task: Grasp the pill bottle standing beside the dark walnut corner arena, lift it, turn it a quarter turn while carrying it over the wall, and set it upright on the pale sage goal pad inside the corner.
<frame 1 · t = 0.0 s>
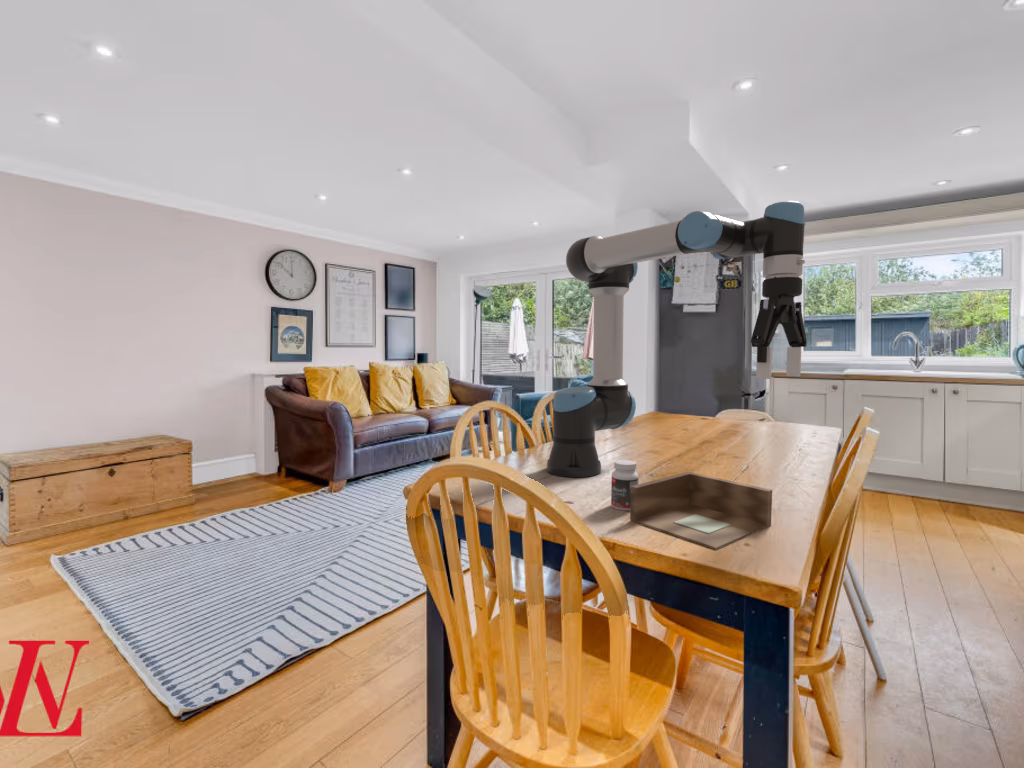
hand: (778, 377, 109), 28 cm above the table, fingers open, 13 cm apart
pill bottle: (624, 508, 110), on the table
arena: (689, 505, 110), on the table
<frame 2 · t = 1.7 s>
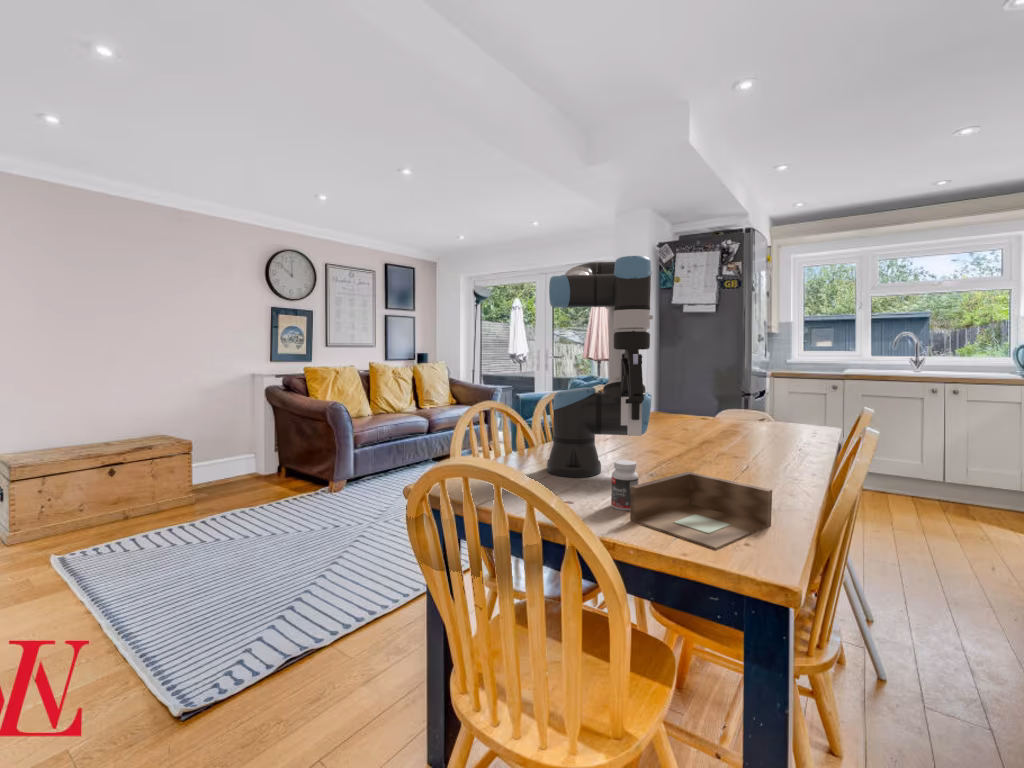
hand: (630, 430, 108), 17 cm above the table, fingers open, 13 cm apart
nothing on the table moved.
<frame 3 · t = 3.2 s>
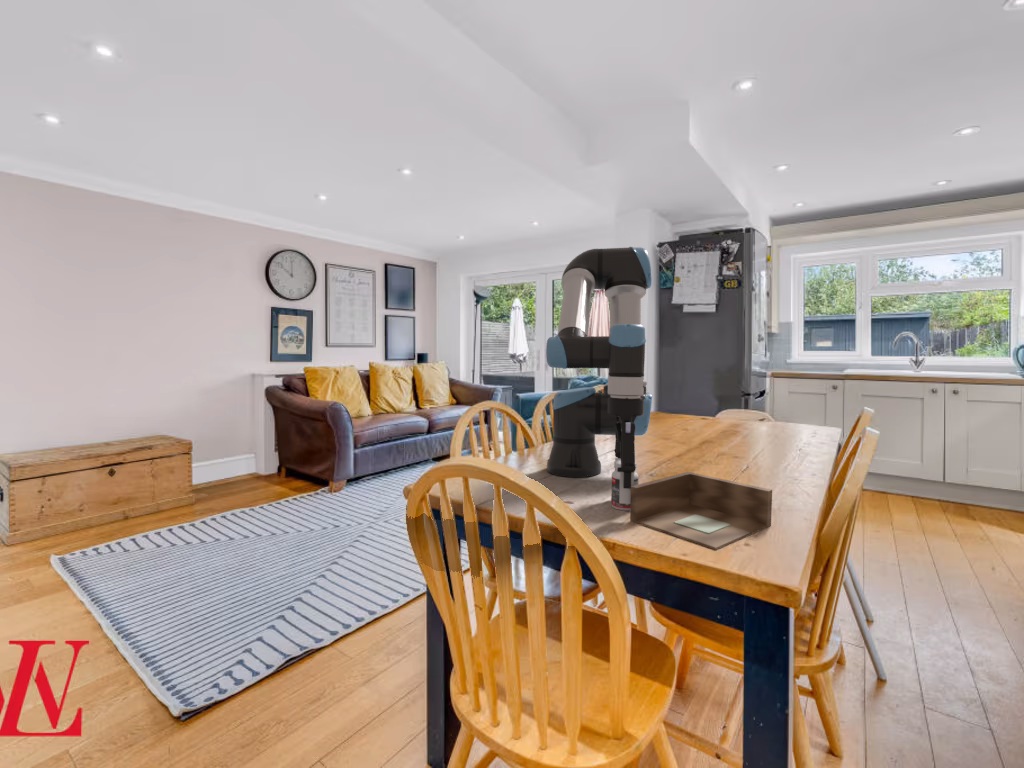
hand: (623, 494, 109), 3 cm above the table, fingers open, 13 cm apart
nothing on the table moved.
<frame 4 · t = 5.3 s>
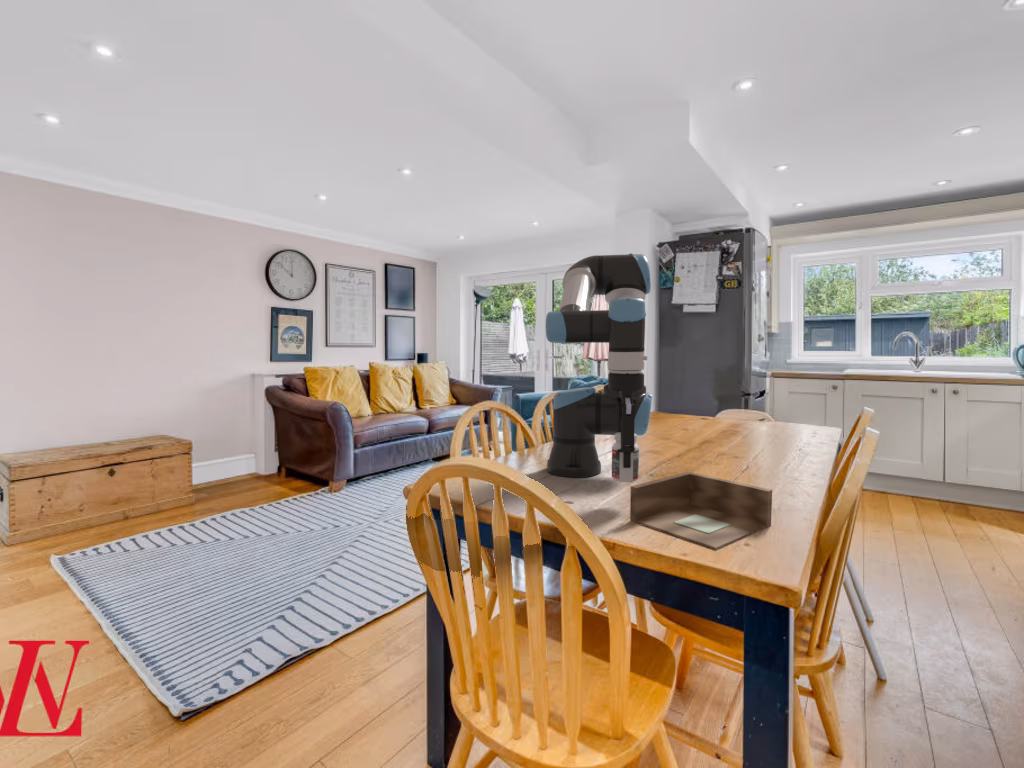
hand: (624, 477, 110), 6 cm above the table, fingers closed on pill bottle, 6 cm apart
pill bottle: (624, 479, 110), point 6 cm above the table, touching gripper
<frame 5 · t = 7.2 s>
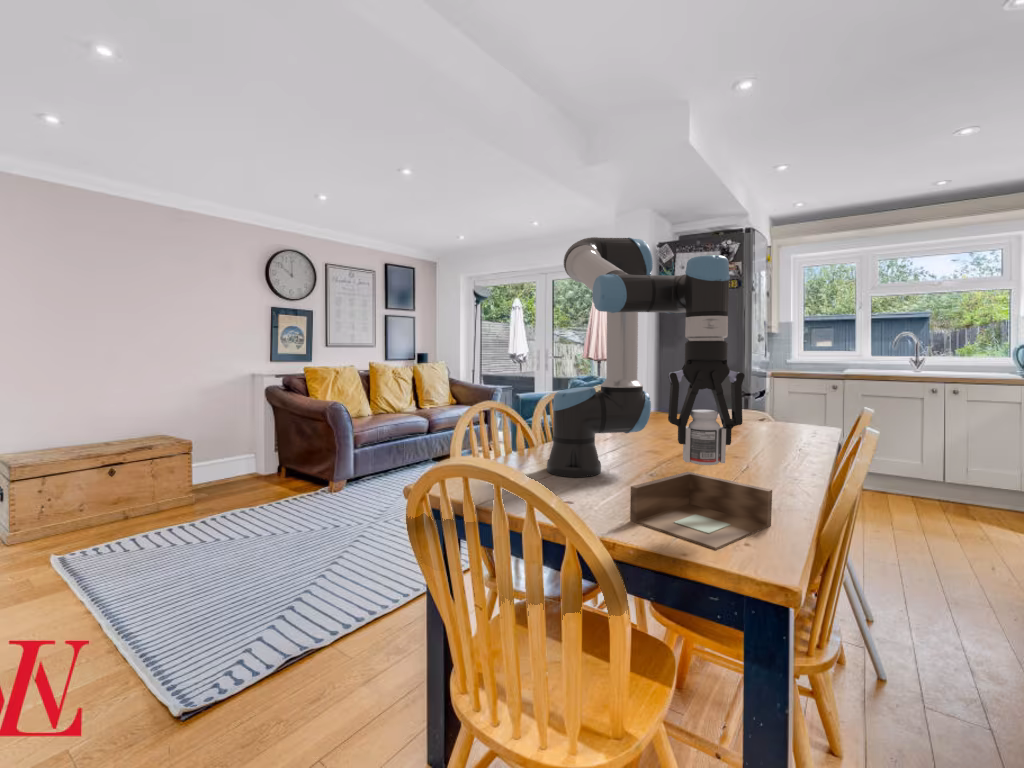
hand: (703, 461, 97), 13 cm above the table, fingers closed on pill bottle, 6 cm apart
pill bottle: (703, 463, 97), point 12 cm above the table, touching gripper
when the fingers open (2 cm above the table, at t = 9.0 s): pill bottle stays where it is, resting on arena.
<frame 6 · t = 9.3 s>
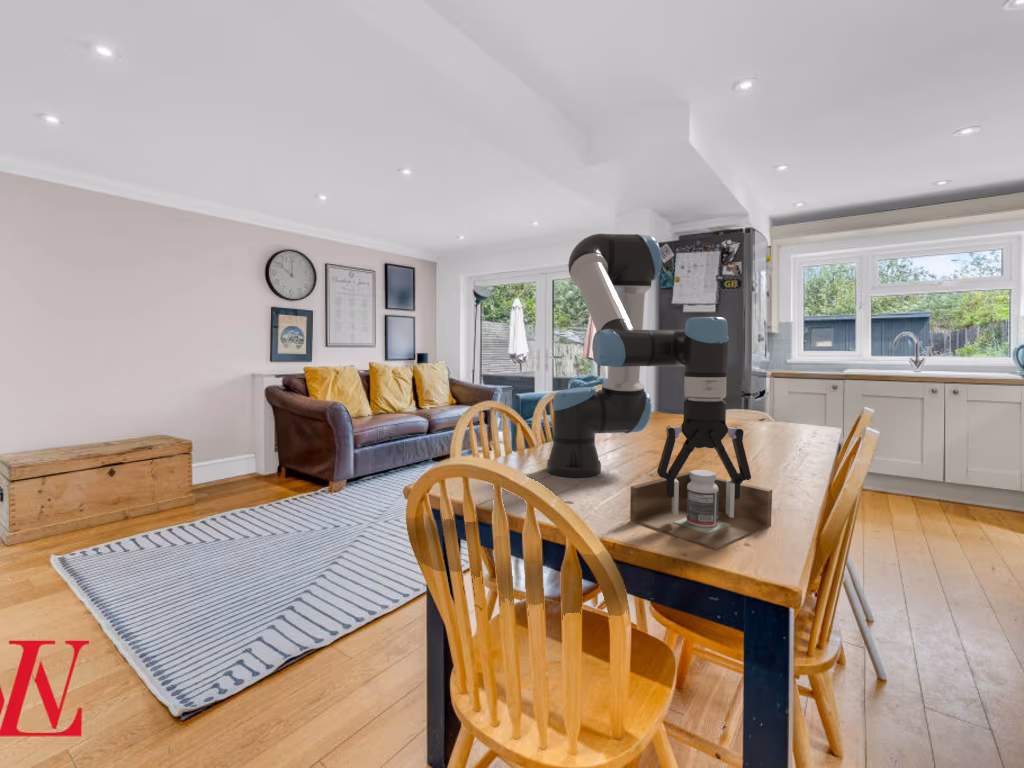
hand: (702, 514, 97), 2 cm above the table, fingers open, 9 cm apart
pill bottle: (701, 524, 98), resting on arena
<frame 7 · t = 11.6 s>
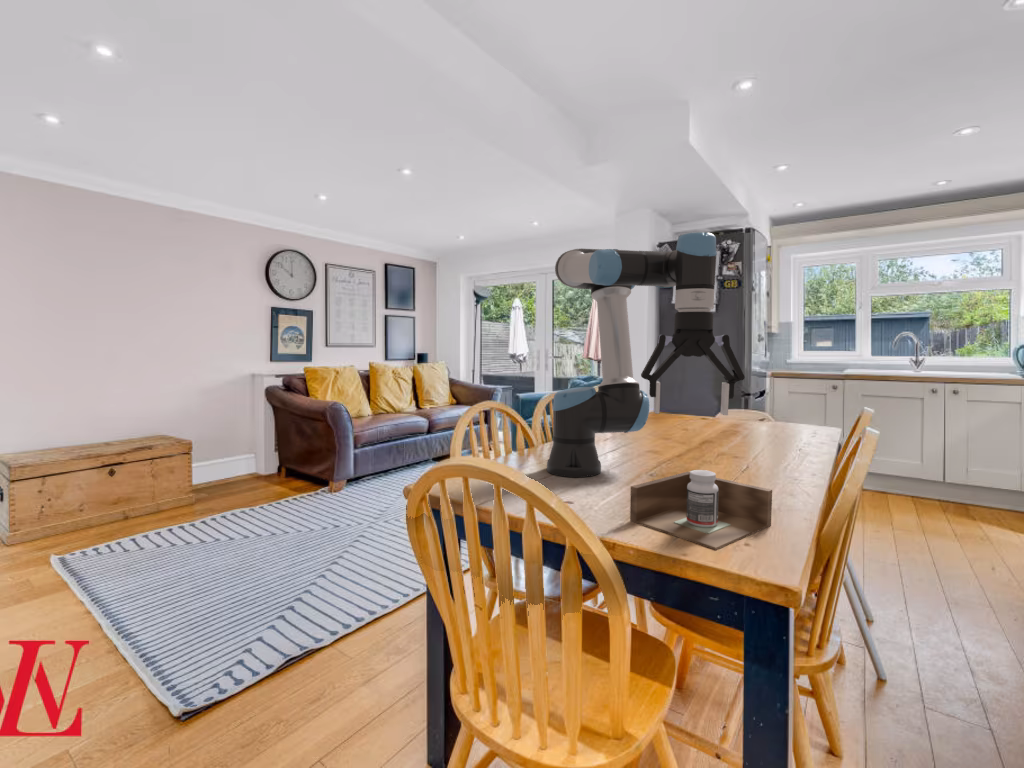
hand: (690, 413, 106), 21 cm above the table, fingers open, 13 cm apart
nothing on the table moved.
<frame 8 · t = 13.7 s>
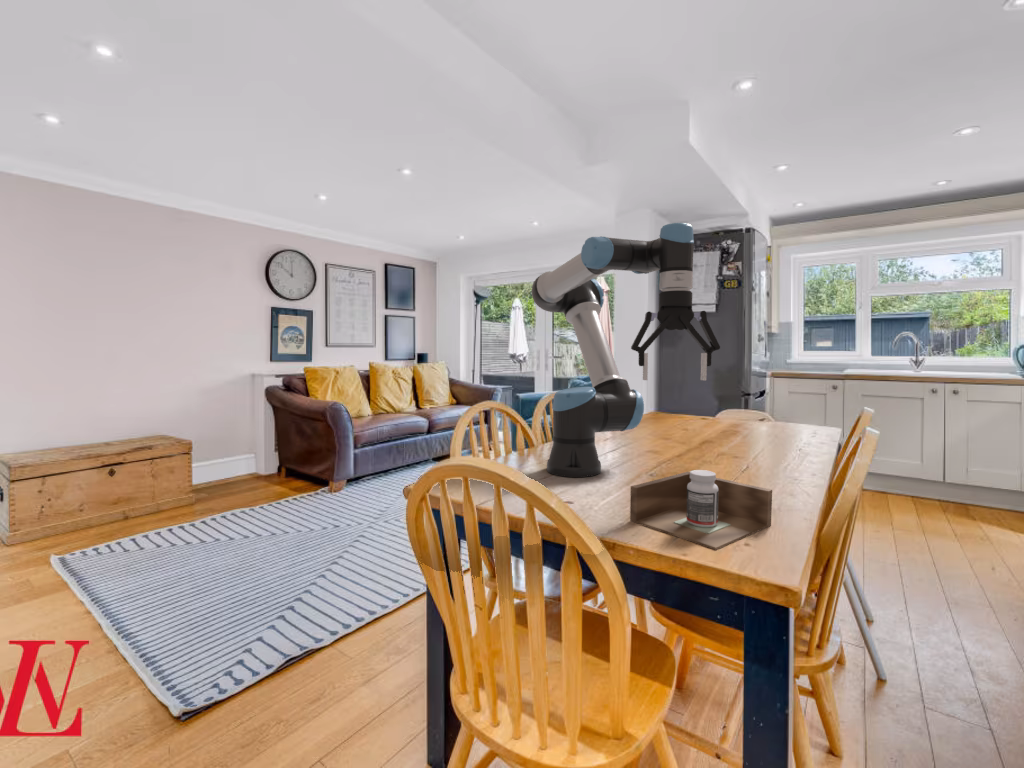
hand: (674, 380, 121), 27 cm above the table, fingers open, 13 cm apart
nothing on the table moved.
at the end: pill bottle inside the target area on the arena (0.0 cm from its centre), point 0.4 cm above the arena's base; pill bottle tilted 0°; the gripper is holding nothing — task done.
